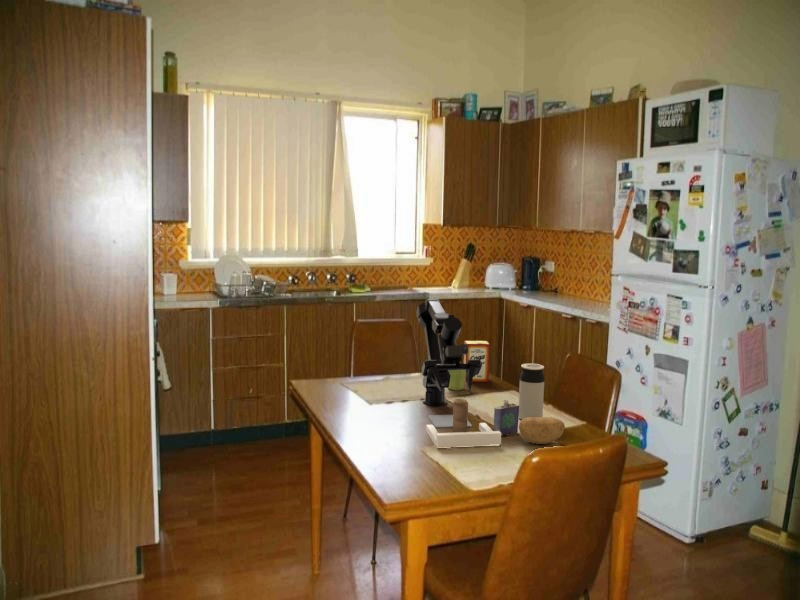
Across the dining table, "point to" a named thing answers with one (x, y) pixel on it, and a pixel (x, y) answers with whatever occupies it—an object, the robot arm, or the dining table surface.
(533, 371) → the travel mug
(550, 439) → the potato
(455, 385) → the plant pot
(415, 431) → the dining table surface
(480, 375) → the baking soda box
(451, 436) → the white frame
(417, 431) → the dining table surface
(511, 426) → the flask
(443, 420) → the mat
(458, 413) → the brown wooden cylinder
